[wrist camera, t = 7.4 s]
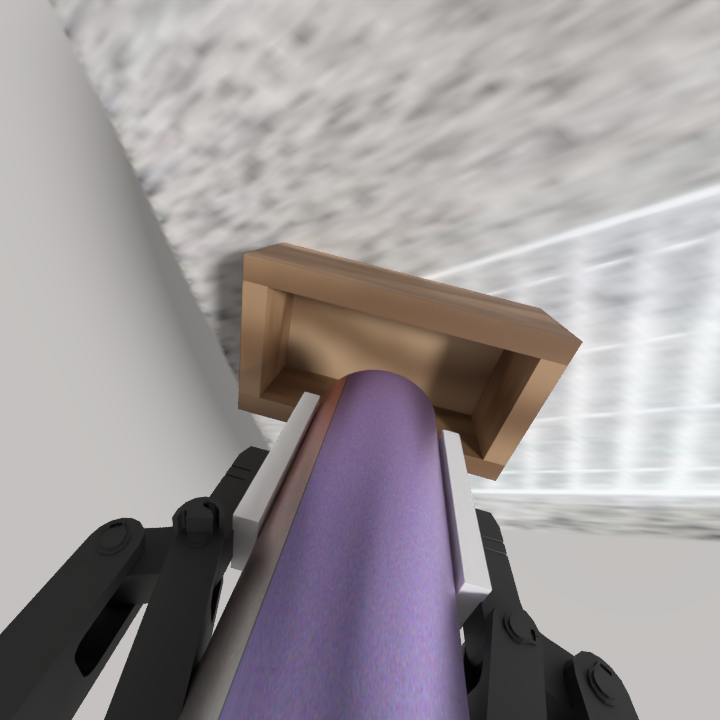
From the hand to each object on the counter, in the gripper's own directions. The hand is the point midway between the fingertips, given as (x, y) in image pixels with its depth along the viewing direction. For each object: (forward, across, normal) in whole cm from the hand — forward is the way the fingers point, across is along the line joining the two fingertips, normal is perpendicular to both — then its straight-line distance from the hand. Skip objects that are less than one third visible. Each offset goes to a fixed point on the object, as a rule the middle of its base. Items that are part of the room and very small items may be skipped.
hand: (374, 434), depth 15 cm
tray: (+11, 0, 0) cm, 11 cm away
